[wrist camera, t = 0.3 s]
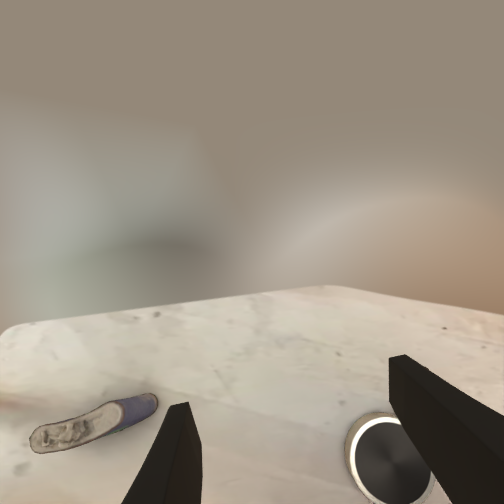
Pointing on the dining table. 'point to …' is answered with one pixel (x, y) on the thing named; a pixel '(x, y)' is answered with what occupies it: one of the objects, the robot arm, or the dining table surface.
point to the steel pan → (386, 461)
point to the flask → (92, 424)
